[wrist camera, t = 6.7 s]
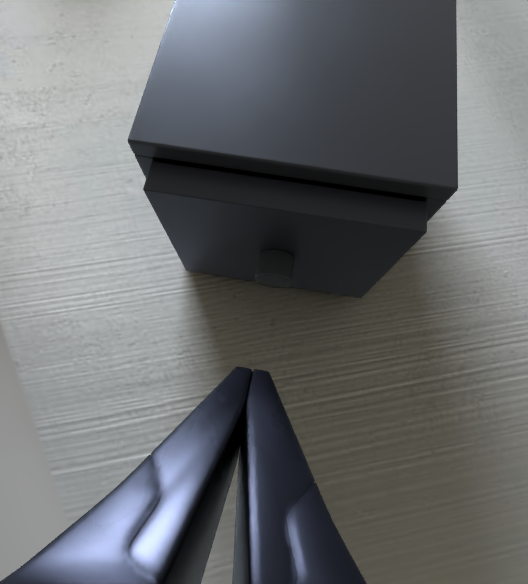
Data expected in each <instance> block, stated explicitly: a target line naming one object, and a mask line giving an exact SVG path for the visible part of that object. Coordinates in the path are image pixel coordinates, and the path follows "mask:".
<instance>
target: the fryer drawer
mask: <svg viewBox="0 0 528 584" xmlns="http://www.w3.org/2000/svg"><path fill="white" fill-rule="evenodd" d="M185 163H186V166H181V165H175V164H168V163H161V162H154V161H152V162H151V166H150V169H149V172H148V175H147V179H146V182H145V185H144V189H143V190H144V192H145V194H146V196H147V197H148V199H149V201H150V203H151V205H152V207H153V209H154V211H155V212H156V214H157V216H158V218H159V220H160V222H161V224H162V226H163V227H164V229H165V231H166V233H167V235H168V237H169V239H170V241H171V242H172V244H173V246H174V248H175V250H176V252H177V254H178V256H179V257H180V259H181V261H182V263H183V265H184V267H185V269H186V270H187V271H193V272H200V273H206V274H212V275H219V276H225V277H231V278H238V279H244V280H250V281H257V282H259V283H261V284H263V285H266V286H270V287H287V286H288V287H295V288H301V289H307V290H314V291H320V292H326V293H333V294H339V295H345V296H352V297H358V298H362V297H363V296H364V295H365V294H366V293H367V292H368V291H369V290H370V289H371V288H372V287H373V286H374V285H375V284H376V283H377V282H378V281H379V280H380V279H381V278H382V277H383V276H384V275H385V274H386V273H387V272H388V271H389V270H390V269H391V268H392V267H393V266H394V265H395V264H396V263H397V262H398V261H399V260H400V259H401V258H402V257H403V256H404V255H405V254H406V252H407V251H408V250H409V249H410V248H411V247H412V246H413V245H414V244H415V243H416V242H417V241H418V240H419V239H420V238H421V237H422V236H423V235H424V234H425V233H426V232H427V202H424V201H417V200H410V199H403V198H397V197H393V195H394V194H395V193H394V192H387V191H380V190H373V189H367V188H360V187H353V186H346V185H340V184H333V183H326V182H319V181H313V180H306V179H299V178H292V177H286V176H279V175H272V174H265V173H259V172H252V171H245V170H238V169H232V168H225V167H218V166H212V165H205V164H198V163H191V162H185Z"/></svg>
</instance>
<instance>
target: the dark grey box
mask: <svg viewBox="0 0 528 584" xmlns="http://www.w3.org/2000/svg"><path fill="white" fill-rule="evenodd" d="M128 143H129V145H130V147H131V149H132V151H133V153H134V154H135V157H136V159H137V161H138V163H139V165H140V167H141V169H142V171H143V173H144V175H145V177H146V179H147V175H148V172H149V169H150V166H151V162H152V161H154V162H161V163H168V164H175V165H181V166H186V163H185V162H191V163H198V164H205V165H212V166H218V167H225V168H232V169H238V170H245V171H252V172H259V173H265V174H272V175H279V176H286V177H292V178H299V179H306V180H313V181H319V182H326V183H333V184H340V185H346V186H353V187H360V188H367V189H373V190H380V191H387V192H394V193H395V194H394V195H393V197H397V198H403V199H410V200H417V201H424V202H427V222H428V221H429V220H430V218H431V217H432V216H433V215H434V214H435V213H436V212H437V211H438V210H439V209H440V208H441V207H442V206H443V205H444V204H445V202H446V200H448V199H449V198H450V197H451V196H452V195H453V194H454V193H455V192H456V191H457V189H458V156H457V41H456V0H175V2H174V5H173V8H172V11H171V14H170V17H169V20H168V23H167V26H166V29H165V32H164V35H163V38H162V40H161V43H160V46H159V49H158V52H157V55H156V58H155V61H154V64H153V67H152V70H151V73H150V76H149V79H148V82H147V85H146V88H145V90H144V93H143V96H142V99H141V102H140V105H139V108H138V111H137V114H136V117H135V120H134V123H133V126H132V129H131V132H130V135H129V138H128Z"/></svg>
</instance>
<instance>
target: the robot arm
mask: <svg viewBox="0 0 528 584" xmlns="http://www.w3.org/2000/svg"><path fill="white" fill-rule="evenodd" d="M239 451H240V453H239ZM238 456H239V463H238V480H237V500H236V521H235V541H234V562H233V582H232V584H367V583H366V582H365V580H364V578H363V576H362V575H361V573H360V571H359V569H358V567H357V566H356V564H355V562H354V560H353V558H352V557H351V555H350V553H349V551H348V549H347V547H346V545H345V544H344V542H343V540H342V538H341V536H340V534H339V532H338V530H337V528H336V527H335V525H334V523H333V520H332V518H331V516H330V514H329V512H328V509H327V507H326V505H325V503H324V501H323V498H322V496H321V494H320V491H319V489H318V487H317V484H316V483H314V481H315V480H314V477H313V475H312V473H311V470H310V468H309V466H308V463H307V461H306V458H305V456H304V454H303V451H302V449H301V447H300V444H299V442H298V440H297V437H296V435H295V432H294V430H293V428H292V425H291V423H290V421H289V418H288V416H287V413H286V411H285V409H284V406H283V404H282V402H281V399H280V397H279V394H278V392H277V390H276V387H275V385H274V383H273V380H272V378H271V375H270V373H269V372H268V371H263V370H257V369H254V370H253V371H252V369H250V368H244V367H236V368H235V369H234V370H233V371H232V372H231V373H230V374H229V375H228V376H227V377H226V378H225V379H224V380H223V381H222V382H221V383H220V384H219V385H218V386H217V387H216V388H215V389H214V390H213V391H212V392H211V393H210V394H209V395H208V396H207V397H206V398H205V399H204V400H203V401H202V402H201V403H200V404H199V405H198V406H197V407H196V408H195V409H194V410H193V411H192V412H191V413H190V414H189V415H188V416H187V417H186V418H185V419H184V420H183V421H182V422H181V423H180V424H179V426H178V427H177V428H176V429H175V430H174V431H173V432H172V433H171V434H170V435H169V436H168V437H167V438H166V439H165V440H164V441H163V442H162V443H161V444H160V445H159V446H158V447H157V448H156V449H155V450H154V451H153V452H152V453H151V455H149V456H148V457H147V458H146V459H145V460H144V461H143V462H142V463H141V464H140V465H139V466H138V467H137V468H136V469H135V470H134V471H133V472H132V473H131V474H130V475H129V476H128V477H127V478H126V479H125V480H124V481H122V482H121V483H120V484H119V485H118V486H117V487H116V488H115V489H114V490H113V491H112V492H110V493H109V494H108V495H107V496H106V497H105V498H103V499H102V500H101V501H100V502H99V503H98V504H96V505H95V506H94V507H93V508H92V509H91V510H89V511H88V512H87V513H86V514H84V515H83V516H82V517H81V518H80V519H78V520H77V521H76V522H75V523H74V524H72V525H71V526H70V527H69V528H68V529H66V530H65V531H64V532H63V533H61V534H60V535H59V536H58V537H57V538H55V540H53V541H52V542H51V543H49V544H48V545H47V546H46V547H45V548H43V549H42V550H41V551H40V552H39V553H37V554H36V555H35V556H34V557H33V558H31V559H30V560H29V561H28V562H26V563H25V564H24V565H23V566H21V567H20V568H19V569H17V570H16V571H15V572H13V573H12V574H11V575H9V576H8V577H6V578H5V579H3V580H2V581H0V584H201V581H202V578H203V574H204V571H205V568H206V564H207V561H208V558H209V554H210V551H211V548H212V544H213V541H214V538H215V534H216V531H217V528H218V524H219V521H220V518H221V514H222V511H223V508H224V504H225V501H226V498H227V494H228V491H229V488H230V484H231V481H232V478H233V474H234V471H235V468H236V464H237V460H238Z"/></svg>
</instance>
